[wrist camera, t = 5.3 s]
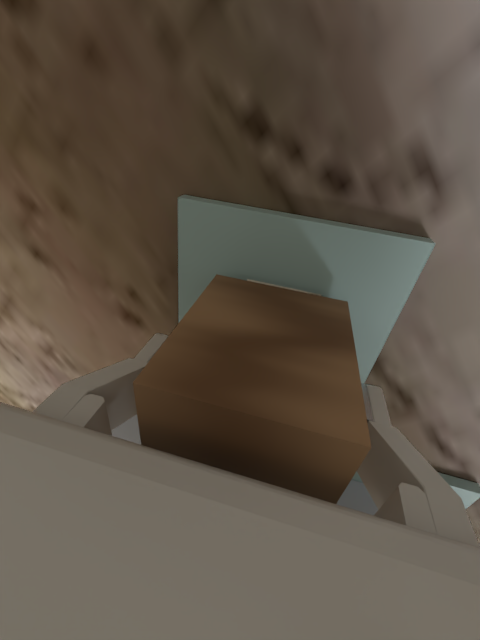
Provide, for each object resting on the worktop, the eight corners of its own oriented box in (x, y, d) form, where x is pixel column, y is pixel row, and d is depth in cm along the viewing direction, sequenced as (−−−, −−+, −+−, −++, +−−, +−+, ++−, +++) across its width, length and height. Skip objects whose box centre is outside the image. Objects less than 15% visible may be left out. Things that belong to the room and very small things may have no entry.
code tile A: (430, 238, 10) (435, 243, 9) (345, 408, 15) (346, 417, 14) (184, 194, 11) (177, 197, 11) (183, 365, 16) (178, 373, 16)
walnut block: (347, 301, 10) (371, 447, 6) (313, 395, 13) (308, 548, 8) (216, 274, 11) (132, 382, 6) (209, 368, 14) (147, 495, 9)
